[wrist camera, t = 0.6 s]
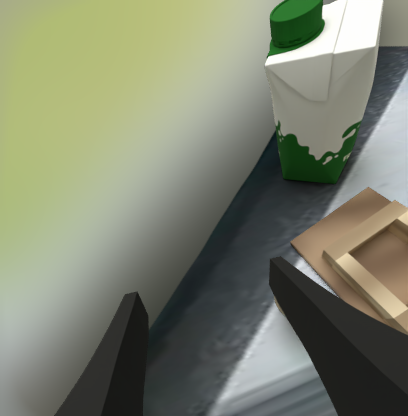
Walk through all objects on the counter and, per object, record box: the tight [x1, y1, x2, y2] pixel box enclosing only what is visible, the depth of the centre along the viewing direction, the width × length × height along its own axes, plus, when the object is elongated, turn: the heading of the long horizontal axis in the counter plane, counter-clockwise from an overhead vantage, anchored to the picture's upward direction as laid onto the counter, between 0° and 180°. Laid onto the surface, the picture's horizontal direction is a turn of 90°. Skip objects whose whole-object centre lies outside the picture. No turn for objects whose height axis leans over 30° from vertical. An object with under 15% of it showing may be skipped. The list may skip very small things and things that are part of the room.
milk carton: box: [264, 0, 384, 184], centre depth 23 cm, size 9×9×20 cm
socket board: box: [291, 187, 408, 335], centre depth 20 cm, size 16×12×4 cm
